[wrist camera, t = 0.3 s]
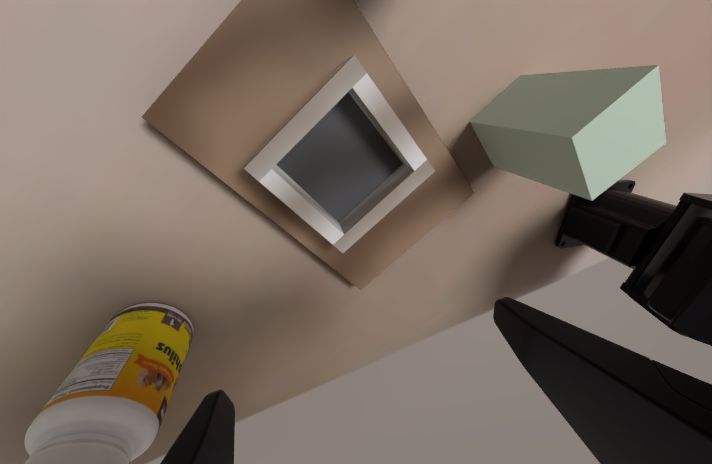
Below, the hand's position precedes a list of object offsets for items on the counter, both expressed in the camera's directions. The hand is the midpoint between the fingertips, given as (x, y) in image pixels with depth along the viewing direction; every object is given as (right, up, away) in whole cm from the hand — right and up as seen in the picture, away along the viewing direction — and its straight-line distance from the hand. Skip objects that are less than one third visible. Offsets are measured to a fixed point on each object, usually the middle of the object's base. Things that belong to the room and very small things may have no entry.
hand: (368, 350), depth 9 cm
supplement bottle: (-16, -3, +13) cm, 21 cm away
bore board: (-2, +9, +10) cm, 13 cm away
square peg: (+11, +12, +12) cm, 20 cm away
